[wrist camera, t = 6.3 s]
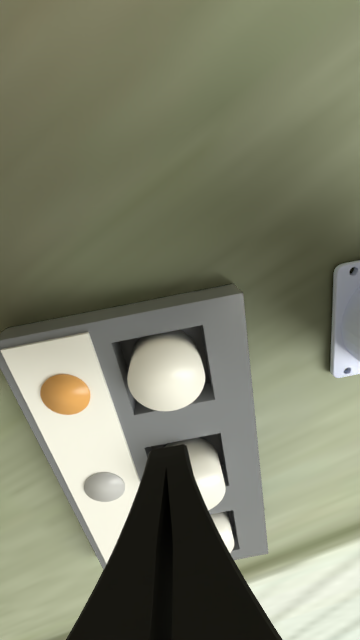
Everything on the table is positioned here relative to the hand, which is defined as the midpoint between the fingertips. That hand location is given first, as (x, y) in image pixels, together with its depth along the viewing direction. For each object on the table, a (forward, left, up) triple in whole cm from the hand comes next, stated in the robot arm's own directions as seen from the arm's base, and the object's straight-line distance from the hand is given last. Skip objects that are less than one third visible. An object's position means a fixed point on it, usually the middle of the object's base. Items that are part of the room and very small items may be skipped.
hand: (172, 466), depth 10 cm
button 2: (0, +8, -7) cm, 11 cm away
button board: (+2, +8, -8) cm, 12 cm away
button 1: (0, 0, -8) cm, 8 cm away
